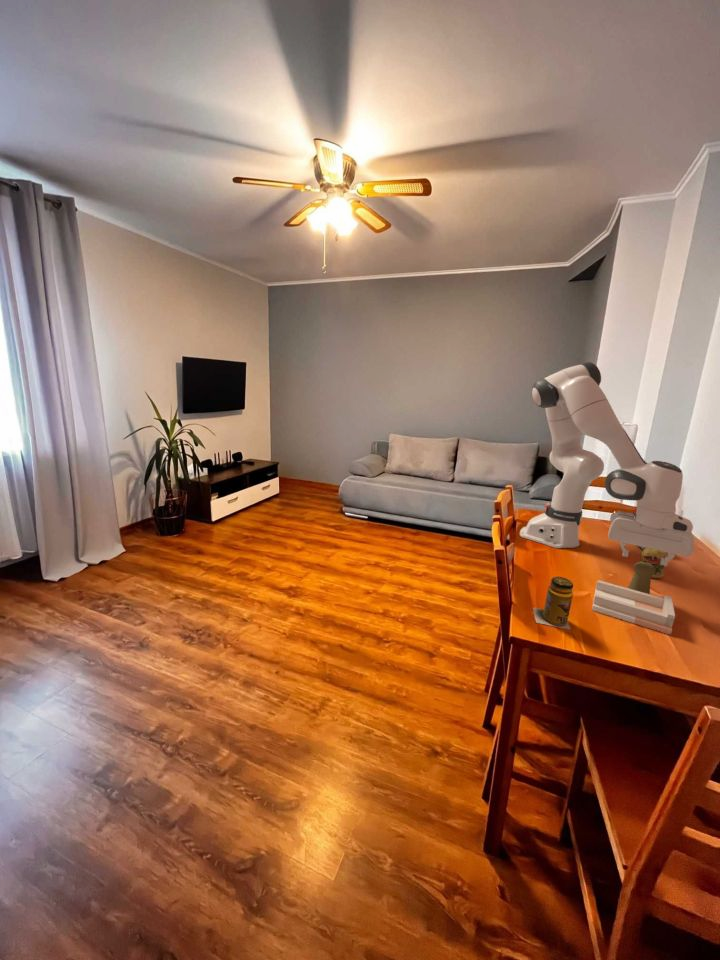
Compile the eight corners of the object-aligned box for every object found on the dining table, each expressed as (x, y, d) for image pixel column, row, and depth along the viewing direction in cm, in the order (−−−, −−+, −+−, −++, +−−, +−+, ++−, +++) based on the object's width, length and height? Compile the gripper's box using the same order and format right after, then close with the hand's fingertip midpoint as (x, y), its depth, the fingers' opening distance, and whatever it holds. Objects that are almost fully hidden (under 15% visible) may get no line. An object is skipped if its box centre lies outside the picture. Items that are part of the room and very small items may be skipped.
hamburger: (647, 580, 128) (656, 547, 125) (631, 569, 135) (639, 538, 132) (669, 580, 129) (678, 547, 126) (652, 569, 136) (660, 538, 133)
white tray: (592, 610, 110) (595, 594, 108) (595, 589, 121) (598, 575, 120) (670, 635, 100) (675, 618, 99) (666, 610, 111) (670, 595, 110)
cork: (653, 602, 115) (662, 570, 112) (631, 599, 116) (639, 567, 113) (643, 592, 121) (651, 560, 118) (622, 589, 122) (629, 558, 119)
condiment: (570, 630, 100) (579, 589, 97) (536, 623, 103) (543, 583, 100) (565, 614, 107) (573, 576, 104) (532, 608, 110) (539, 570, 106)
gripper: (611, 512, 115) (602, 554, 118) (700, 528, 103) (687, 574, 107) (612, 506, 120) (604, 547, 123) (697, 522, 108) (685, 566, 112)
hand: (643, 560), depth 115 cm, fingers open, 8 cm apart
